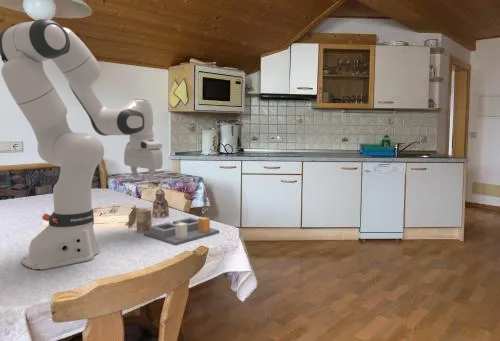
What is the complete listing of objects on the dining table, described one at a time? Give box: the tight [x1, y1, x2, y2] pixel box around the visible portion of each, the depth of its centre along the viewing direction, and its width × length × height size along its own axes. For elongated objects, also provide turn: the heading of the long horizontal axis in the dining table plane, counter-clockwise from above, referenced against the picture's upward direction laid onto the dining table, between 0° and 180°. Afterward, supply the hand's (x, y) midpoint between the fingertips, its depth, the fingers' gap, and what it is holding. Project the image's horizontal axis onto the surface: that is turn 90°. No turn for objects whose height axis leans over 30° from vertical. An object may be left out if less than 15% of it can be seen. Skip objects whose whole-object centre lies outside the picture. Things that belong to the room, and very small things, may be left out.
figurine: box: [151, 188, 170, 219], centre depth 187 cm, size 7×7×12 cm
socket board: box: [143, 216, 220, 246], centre depth 160 cm, size 21×19×6 cm
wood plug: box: [135, 208, 153, 233], centre depth 164 cm, size 4×4×8 cm
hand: (143, 179), depth 162 cm, fingers open, 8 cm apart
